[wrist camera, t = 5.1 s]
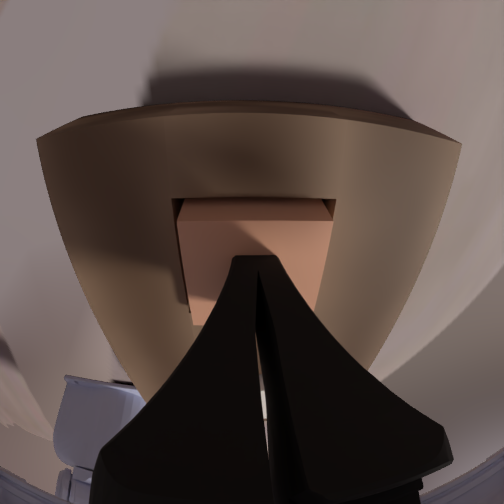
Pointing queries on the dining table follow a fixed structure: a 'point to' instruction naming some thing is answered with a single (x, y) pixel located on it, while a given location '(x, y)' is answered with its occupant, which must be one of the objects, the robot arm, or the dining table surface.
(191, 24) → the dining table surface
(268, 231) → the salmon orange square block
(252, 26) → the dining table surface
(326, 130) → the key panel
